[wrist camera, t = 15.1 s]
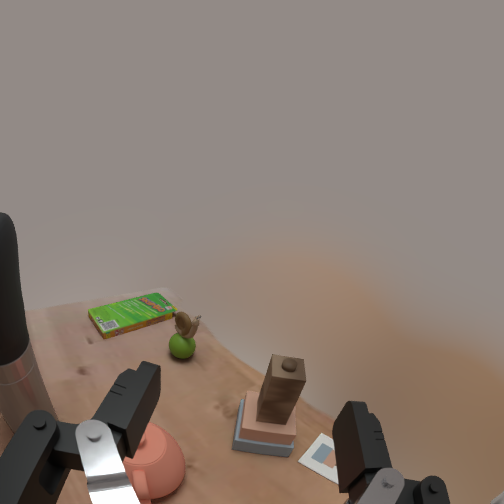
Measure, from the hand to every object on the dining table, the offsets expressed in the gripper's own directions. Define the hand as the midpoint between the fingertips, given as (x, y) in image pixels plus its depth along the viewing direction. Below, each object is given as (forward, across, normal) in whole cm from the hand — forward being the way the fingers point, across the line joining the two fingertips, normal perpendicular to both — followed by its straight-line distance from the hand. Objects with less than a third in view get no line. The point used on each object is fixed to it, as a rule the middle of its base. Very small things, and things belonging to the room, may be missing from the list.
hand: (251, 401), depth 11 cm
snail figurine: (+37, +11, +32) cm, 50 cm away
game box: (+46, +26, +33) cm, 62 cm away
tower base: (+22, -6, +32) cm, 39 cm away
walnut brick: (+22, -6, +26) cm, 34 cm away
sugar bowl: (+8, +10, +32) cm, 35 cm away
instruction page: (+17, -19, +32) cm, 41 cm away
